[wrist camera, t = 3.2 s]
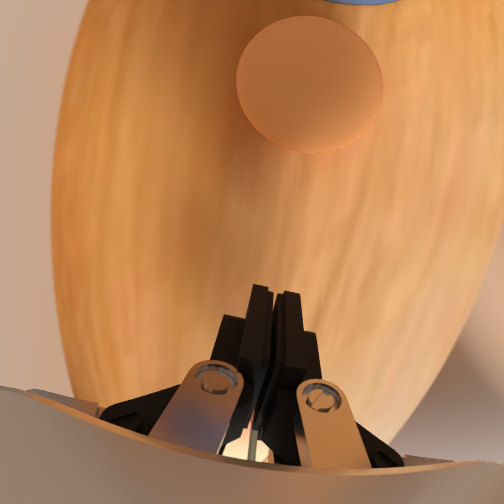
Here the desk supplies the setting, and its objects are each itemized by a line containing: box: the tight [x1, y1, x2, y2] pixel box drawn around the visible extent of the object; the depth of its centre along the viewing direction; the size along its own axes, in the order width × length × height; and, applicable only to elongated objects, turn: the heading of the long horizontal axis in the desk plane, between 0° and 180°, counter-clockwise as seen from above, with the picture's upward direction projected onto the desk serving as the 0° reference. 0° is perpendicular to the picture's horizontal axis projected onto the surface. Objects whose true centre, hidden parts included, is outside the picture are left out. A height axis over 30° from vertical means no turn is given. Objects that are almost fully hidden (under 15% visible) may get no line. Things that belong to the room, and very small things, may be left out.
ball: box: [236, 16, 383, 153], centre depth 11 cm, size 6×6×6 cm
